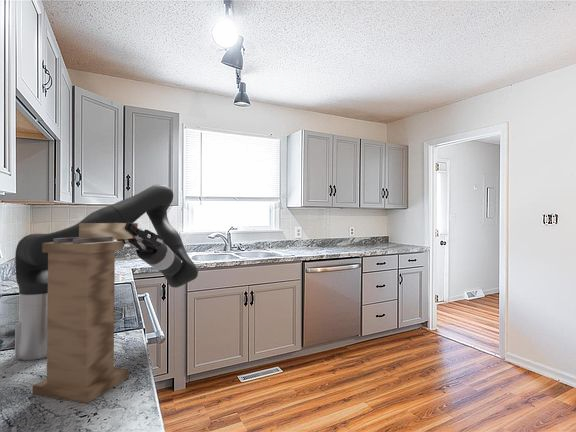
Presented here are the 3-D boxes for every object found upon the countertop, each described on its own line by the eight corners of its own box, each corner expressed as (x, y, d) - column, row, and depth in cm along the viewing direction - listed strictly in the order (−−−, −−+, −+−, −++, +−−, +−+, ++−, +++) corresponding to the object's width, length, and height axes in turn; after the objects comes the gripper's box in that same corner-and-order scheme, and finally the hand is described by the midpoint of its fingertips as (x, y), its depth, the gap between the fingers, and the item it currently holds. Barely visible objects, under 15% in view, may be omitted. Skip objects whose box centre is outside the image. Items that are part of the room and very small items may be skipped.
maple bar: (127, 237, 93) (128, 223, 93) (137, 238, 92) (137, 223, 92) (78, 241, 77) (79, 223, 77) (89, 241, 76) (90, 223, 76)
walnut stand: (79, 370, 84) (80, 236, 84) (128, 376, 80) (129, 236, 81) (32, 395, 72) (34, 238, 73) (87, 403, 69) (89, 239, 69)
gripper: (140, 242, 106) (103, 213, 91) (180, 242, 102) (149, 212, 88) (131, 264, 102) (92, 237, 88) (173, 265, 99) (139, 238, 84)
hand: (121, 225), depth 88 cm, fingers closed on maple bar, 3 cm apart
